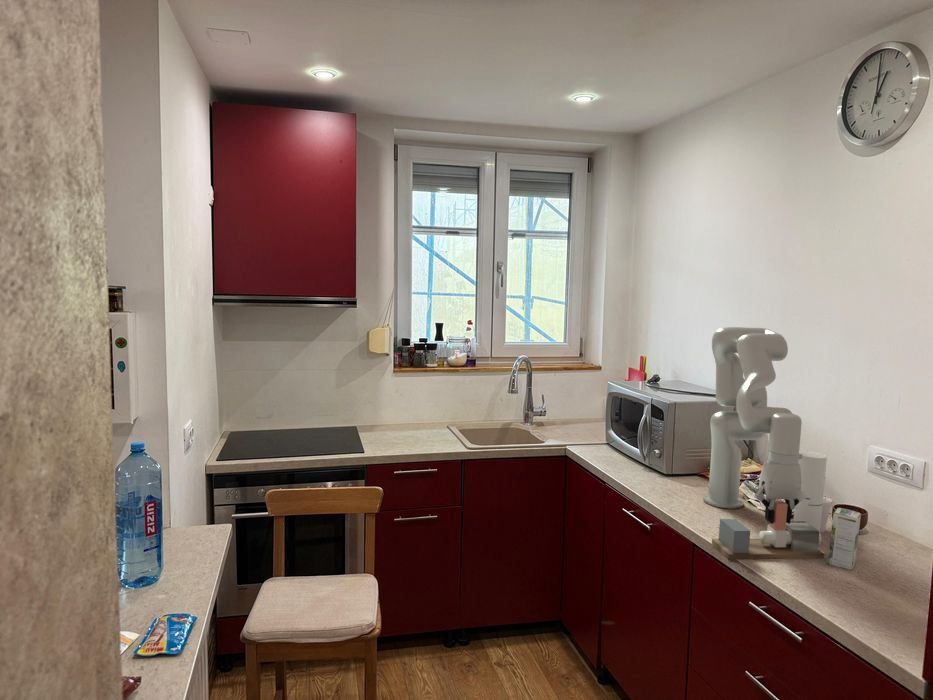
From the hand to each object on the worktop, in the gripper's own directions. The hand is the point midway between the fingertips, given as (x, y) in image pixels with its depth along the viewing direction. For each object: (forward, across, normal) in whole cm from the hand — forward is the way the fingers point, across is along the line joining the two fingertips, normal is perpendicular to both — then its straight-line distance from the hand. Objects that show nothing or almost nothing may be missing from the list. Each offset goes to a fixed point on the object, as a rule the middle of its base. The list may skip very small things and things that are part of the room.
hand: (777, 521), depth 175 cm
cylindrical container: (+9, -15, -10) cm, 20 cm away
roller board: (+9, +2, 0) cm, 9 cm away
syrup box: (+9, -14, +8) cm, 18 cm away
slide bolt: (+7, -4, 0) cm, 8 cm away
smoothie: (+9, -22, -15) cm, 28 cm away
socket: (+7, +12, 0) cm, 14 cm away
